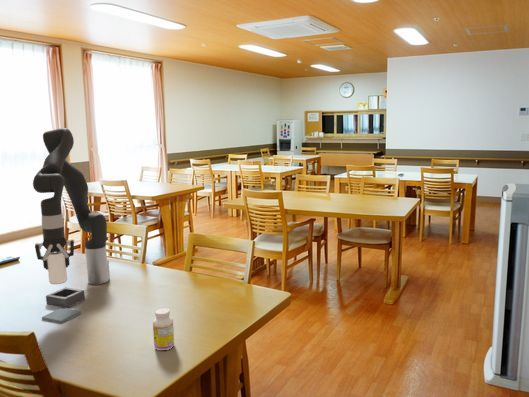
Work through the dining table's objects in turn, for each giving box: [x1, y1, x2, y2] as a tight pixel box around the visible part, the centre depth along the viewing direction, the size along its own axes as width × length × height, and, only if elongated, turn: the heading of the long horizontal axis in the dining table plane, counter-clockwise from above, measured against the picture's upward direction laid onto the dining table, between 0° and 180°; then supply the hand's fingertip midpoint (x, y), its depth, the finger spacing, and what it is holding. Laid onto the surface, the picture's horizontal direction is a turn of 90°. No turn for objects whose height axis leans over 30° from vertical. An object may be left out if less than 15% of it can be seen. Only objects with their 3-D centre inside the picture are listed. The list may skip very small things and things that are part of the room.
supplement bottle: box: [152, 307, 175, 351], centre depth 155 cm, size 7×7×13 cm
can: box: [47, 251, 68, 285], centre depth 179 cm, size 6×6×12 cm
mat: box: [41, 307, 82, 324], centre depth 183 cm, size 10×10×1 cm
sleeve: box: [45, 286, 86, 309], centre depth 197 cm, size 11×11×4 cm
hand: (57, 267), depth 179 cm, fingers closed on can, 6 cm apart
